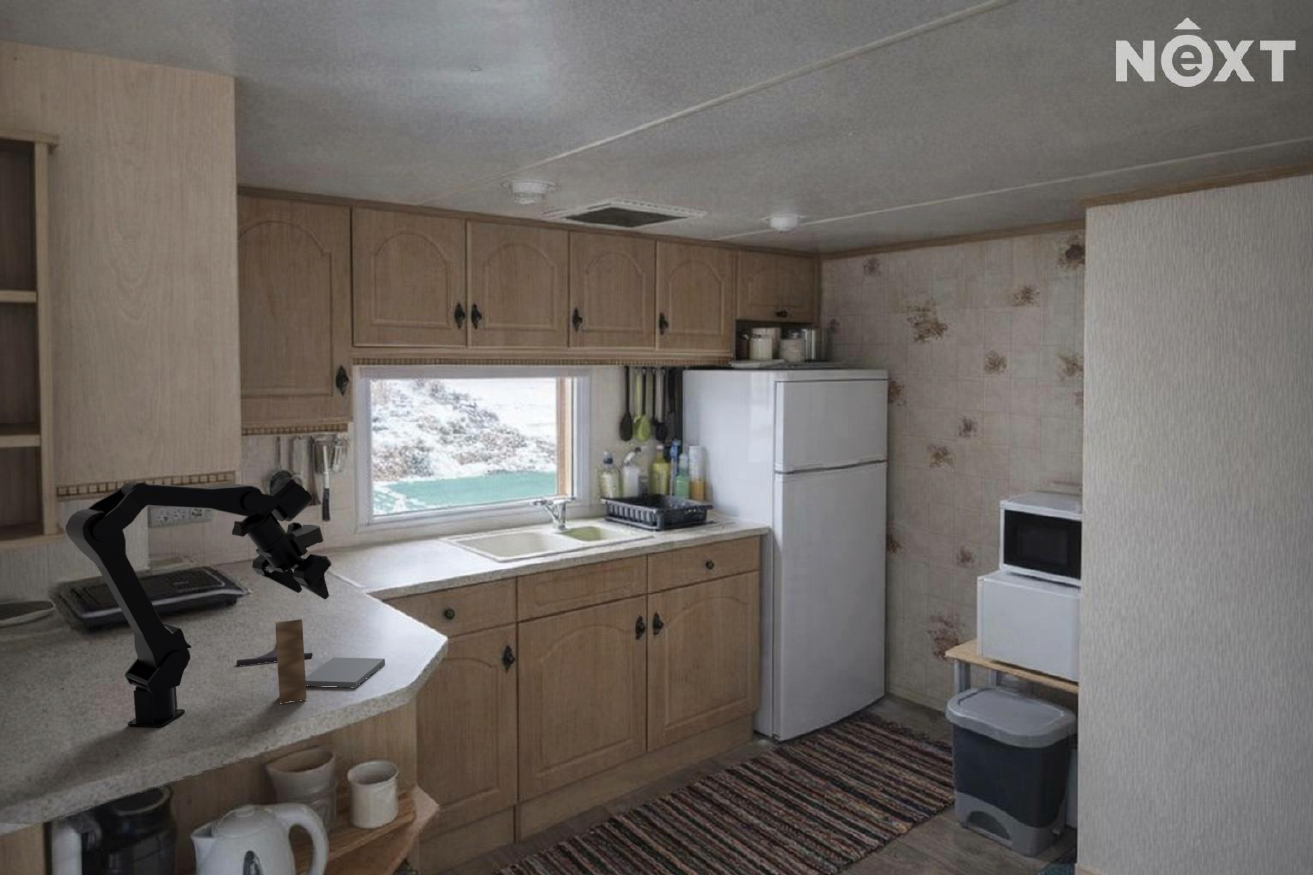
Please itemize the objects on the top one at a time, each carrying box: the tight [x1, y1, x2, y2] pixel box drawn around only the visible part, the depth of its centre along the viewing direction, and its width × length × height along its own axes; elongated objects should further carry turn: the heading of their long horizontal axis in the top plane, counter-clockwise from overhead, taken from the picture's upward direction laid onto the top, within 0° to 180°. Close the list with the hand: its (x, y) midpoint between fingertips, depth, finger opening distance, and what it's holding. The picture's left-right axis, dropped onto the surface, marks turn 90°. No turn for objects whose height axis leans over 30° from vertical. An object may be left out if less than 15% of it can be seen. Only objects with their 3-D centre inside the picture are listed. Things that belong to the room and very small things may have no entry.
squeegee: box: [236, 646, 314, 667], centre depth 187 cm, size 14×15×3 cm
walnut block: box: [275, 618, 308, 704], centre depth 160 cm, size 4×4×14 cm
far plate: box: [305, 656, 386, 689], centre depth 172 cm, size 13×11×1 cm
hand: (313, 594), depth 176 cm, fingers open, 9 cm apart
